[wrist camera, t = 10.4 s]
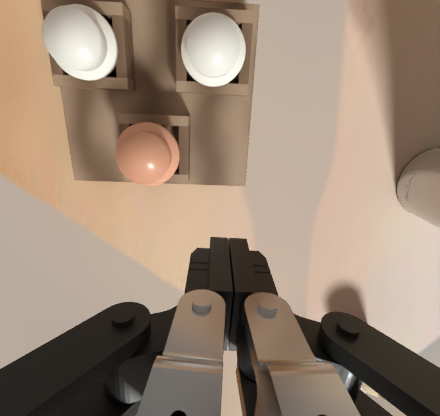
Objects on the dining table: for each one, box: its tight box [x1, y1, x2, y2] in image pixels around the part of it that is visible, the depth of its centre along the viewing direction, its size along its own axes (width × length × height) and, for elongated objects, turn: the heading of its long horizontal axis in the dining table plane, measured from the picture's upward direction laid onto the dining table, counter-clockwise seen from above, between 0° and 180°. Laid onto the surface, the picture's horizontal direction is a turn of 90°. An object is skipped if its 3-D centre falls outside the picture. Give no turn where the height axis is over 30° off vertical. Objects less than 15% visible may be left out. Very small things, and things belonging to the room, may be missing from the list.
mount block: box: [41, 0, 259, 186], centre depth 29 cm, size 21×19×4 cm
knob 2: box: [181, 12, 246, 87], centre depth 26 cm, size 6×6×6 cm
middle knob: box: [115, 122, 180, 186], centre depth 27 cm, size 6×6×6 cm
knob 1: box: [42, 4, 119, 81], centre depth 25 cm, size 6×6×6 cm
